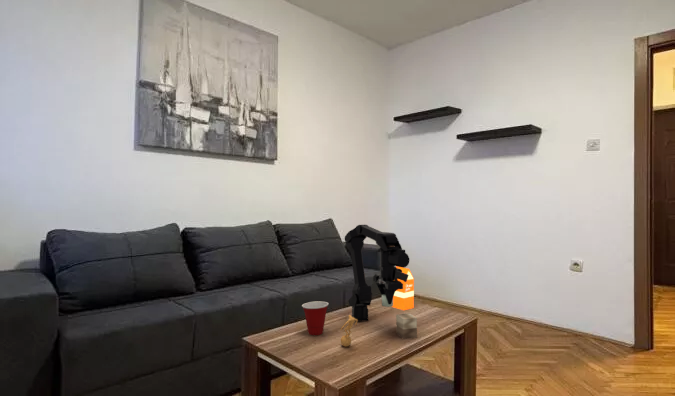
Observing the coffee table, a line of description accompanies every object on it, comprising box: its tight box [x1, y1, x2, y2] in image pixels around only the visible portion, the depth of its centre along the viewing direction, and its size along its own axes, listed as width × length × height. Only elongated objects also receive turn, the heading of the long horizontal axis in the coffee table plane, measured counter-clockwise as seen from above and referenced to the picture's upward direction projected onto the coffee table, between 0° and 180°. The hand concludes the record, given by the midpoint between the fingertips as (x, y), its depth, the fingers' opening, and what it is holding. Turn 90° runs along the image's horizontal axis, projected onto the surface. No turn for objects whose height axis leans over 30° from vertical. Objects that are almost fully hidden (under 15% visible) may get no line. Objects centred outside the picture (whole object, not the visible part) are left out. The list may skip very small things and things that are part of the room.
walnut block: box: [395, 325, 418, 340], centre depth 153 cm, size 6×6×4 cm
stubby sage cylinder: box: [381, 294, 393, 308], centre depth 155 cm, size 5×5×4 cm
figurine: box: [340, 314, 359, 348], centre depth 140 cm, size 8×6×12 cm
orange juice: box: [391, 266, 415, 311], centre depth 193 cm, size 8×9×20 cm
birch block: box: [395, 312, 418, 329], centre depth 153 cm, size 6×6×4 cm
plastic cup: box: [301, 300, 329, 336], centre depth 155 cm, size 11×11×12 cm
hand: (387, 302), depth 155 cm, fingers closed on stubby sage cylinder, 5 cm apart
